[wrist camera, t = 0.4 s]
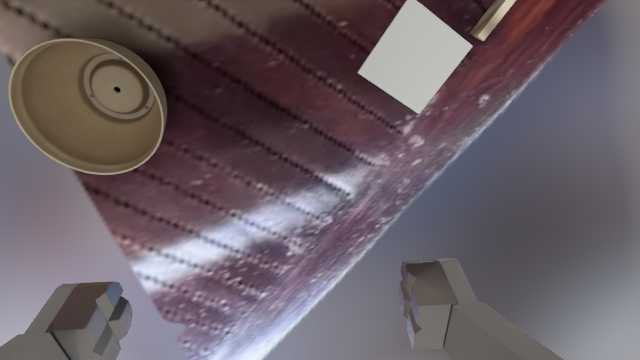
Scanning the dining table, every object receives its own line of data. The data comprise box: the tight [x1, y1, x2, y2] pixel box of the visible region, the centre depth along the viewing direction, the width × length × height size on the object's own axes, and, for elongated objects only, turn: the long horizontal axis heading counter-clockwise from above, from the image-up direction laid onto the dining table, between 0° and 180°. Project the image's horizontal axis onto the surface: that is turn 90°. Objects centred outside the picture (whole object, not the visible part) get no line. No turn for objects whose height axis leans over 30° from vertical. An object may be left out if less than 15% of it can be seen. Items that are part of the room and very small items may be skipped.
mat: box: [357, 0, 472, 114], centre depth 54 cm, size 12×12×1 cm
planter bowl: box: [8, 37, 167, 175], centre depth 48 cm, size 16×16×11 cm
